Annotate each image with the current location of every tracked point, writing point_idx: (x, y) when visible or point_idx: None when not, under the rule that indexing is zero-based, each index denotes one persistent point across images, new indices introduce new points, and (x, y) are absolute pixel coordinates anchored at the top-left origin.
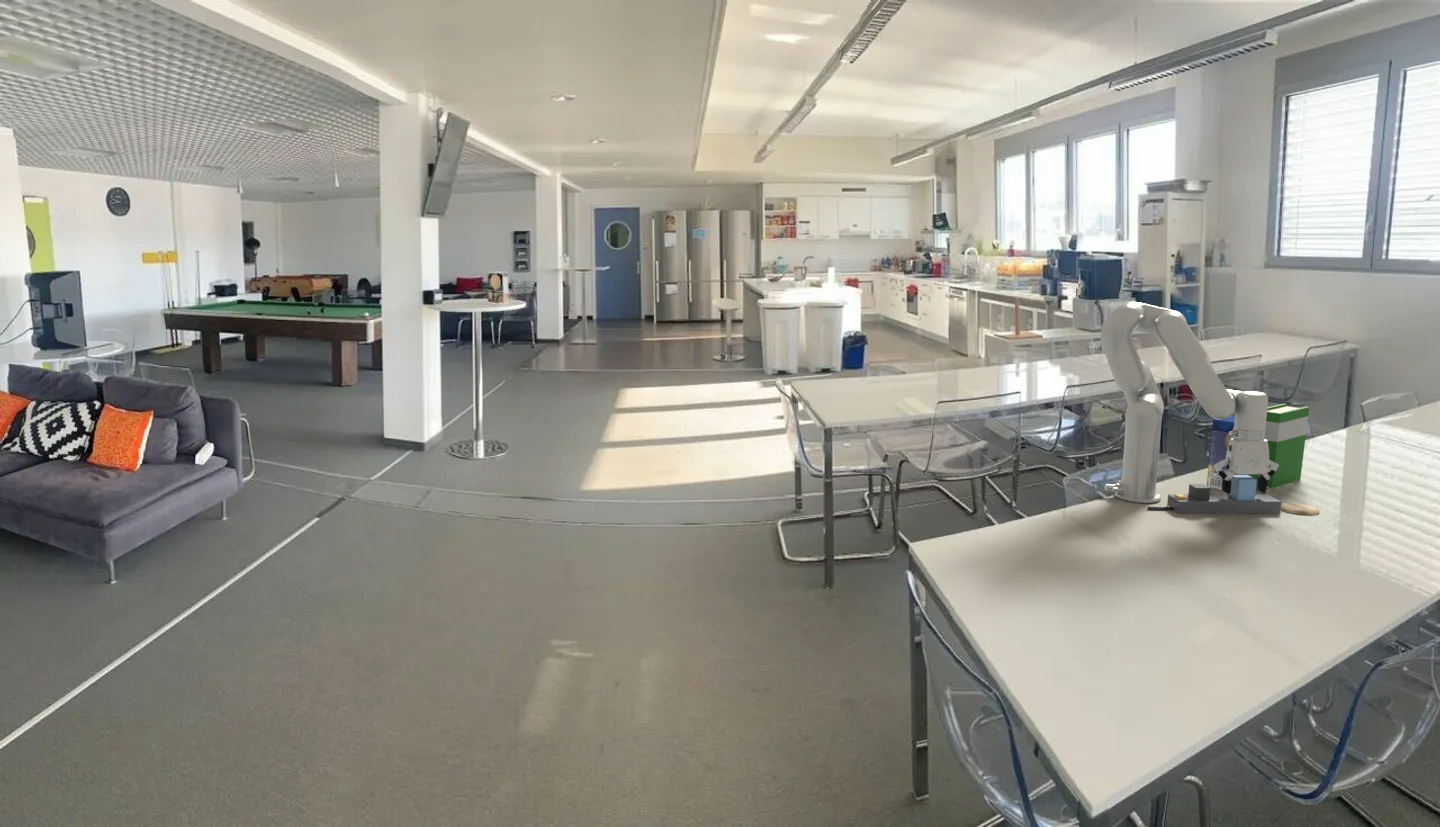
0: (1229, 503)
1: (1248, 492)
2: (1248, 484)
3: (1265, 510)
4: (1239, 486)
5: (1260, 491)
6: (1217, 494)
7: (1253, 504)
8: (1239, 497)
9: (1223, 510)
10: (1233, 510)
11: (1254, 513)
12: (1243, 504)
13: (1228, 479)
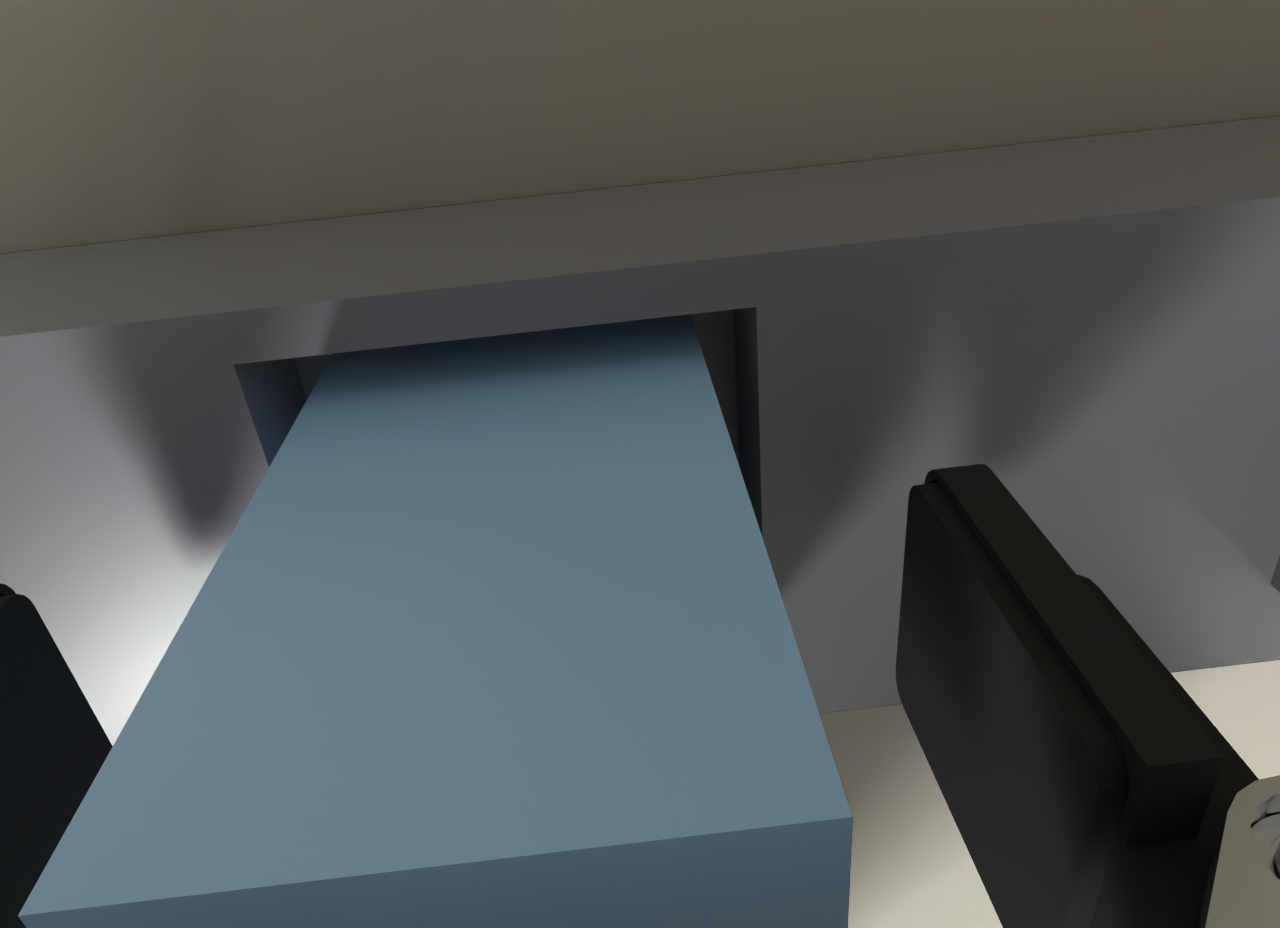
0: (943, 216)
1: (444, 499)
2: (441, 677)
3: (129, 258)
4: (771, 584)
5: (67, 684)
6: None
7: (365, 274)
8: (677, 401)
9: (996, 160)
10: (791, 183)
11: (363, 216)
12: (601, 248)
13: (1250, 834)
